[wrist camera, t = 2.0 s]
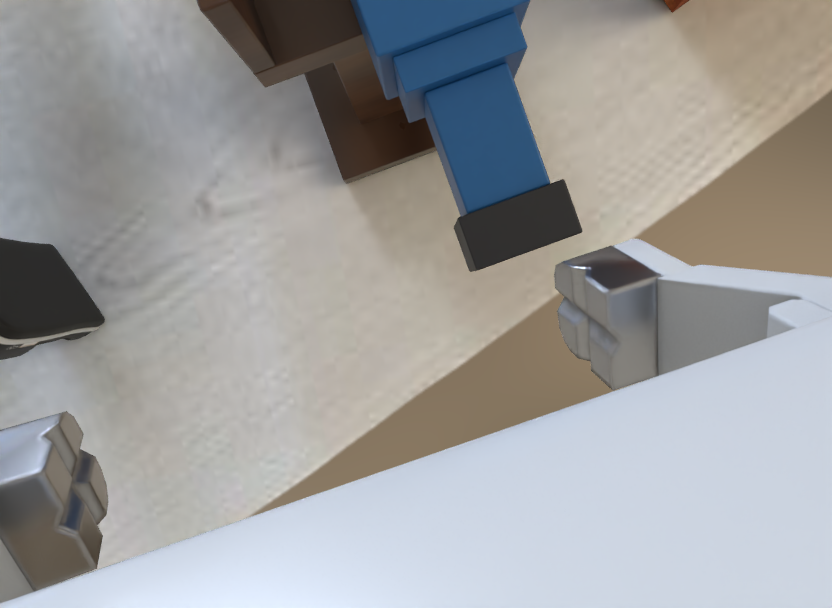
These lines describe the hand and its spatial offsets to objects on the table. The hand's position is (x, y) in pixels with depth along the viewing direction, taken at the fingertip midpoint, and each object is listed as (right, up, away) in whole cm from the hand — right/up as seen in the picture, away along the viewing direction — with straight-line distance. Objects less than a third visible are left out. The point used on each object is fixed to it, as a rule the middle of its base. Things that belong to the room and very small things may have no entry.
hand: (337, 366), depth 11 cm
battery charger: (-23, +2, +35) cm, 42 cm away
